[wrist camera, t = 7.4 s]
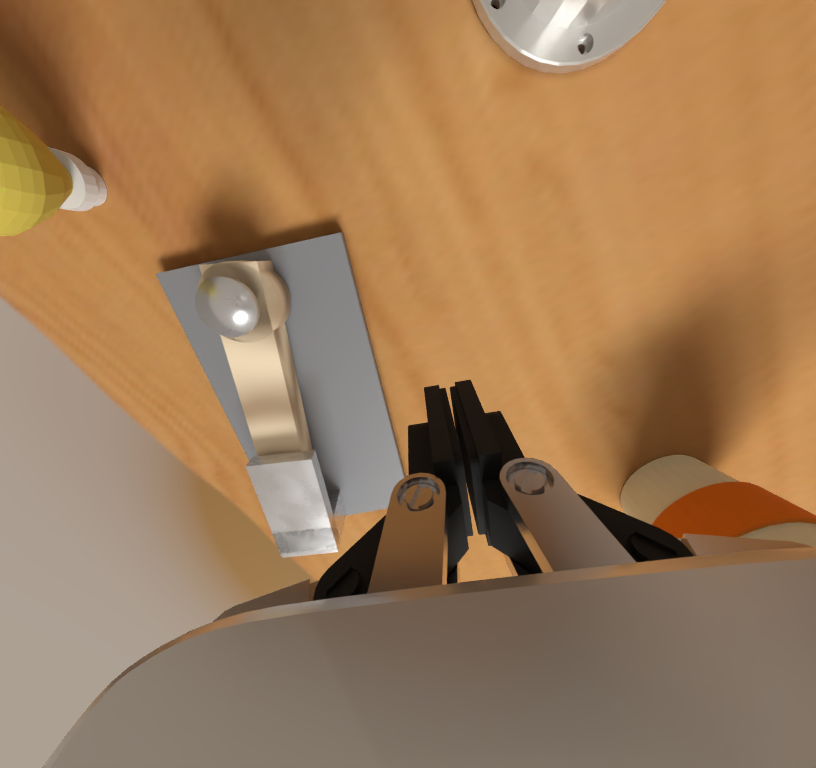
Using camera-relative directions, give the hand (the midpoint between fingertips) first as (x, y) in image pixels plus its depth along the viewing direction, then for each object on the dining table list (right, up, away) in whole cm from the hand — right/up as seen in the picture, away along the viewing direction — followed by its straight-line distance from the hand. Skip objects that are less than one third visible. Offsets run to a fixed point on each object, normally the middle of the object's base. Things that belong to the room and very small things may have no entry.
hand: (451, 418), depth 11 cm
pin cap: (-13, +6, +8) cm, 17 cm away
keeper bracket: (-11, -7, +18) cm, 22 cm away
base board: (-10, -1, +16) cm, 19 cm away
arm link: (-12, +1, +14) cm, 18 cm away
